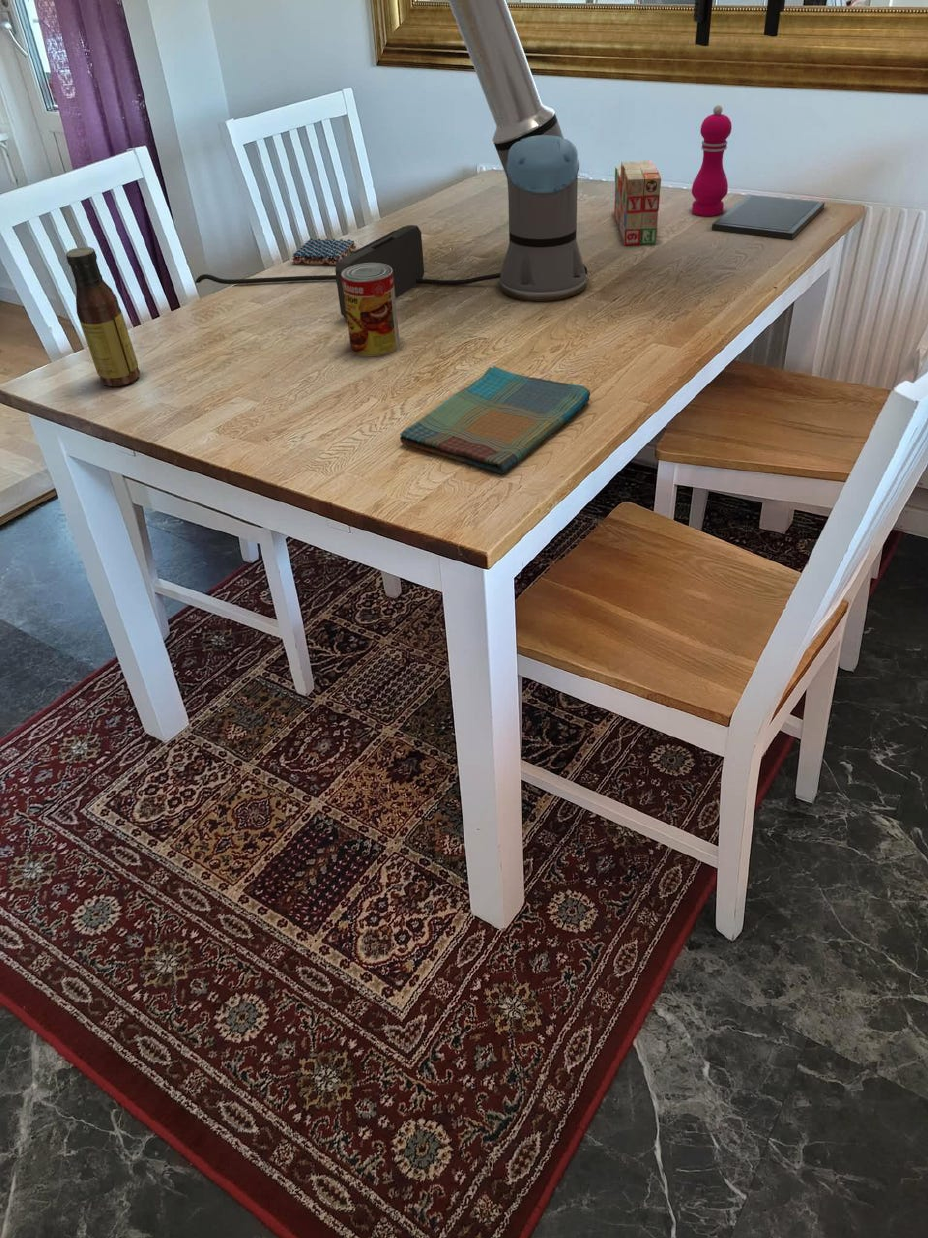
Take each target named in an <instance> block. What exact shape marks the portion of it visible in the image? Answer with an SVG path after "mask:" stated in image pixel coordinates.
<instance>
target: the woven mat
mask: <svg viewBox="0 0 928 1238" xmlns="http://www.w3.org/2000/svg"><path fill="white" fill-rule="evenodd" d="M356 248H357V245H356V244H355V241H354V240H351V239H350V238H349V239H347V240H343V238H341V239H339V240H336V238H333V239H332V240H330V239H328V238H325V239H321V238H317V239H314V238H309V240H306V241H305V242H304V243H302V245H301V246H300V247H298V248H297V250H294V253H292V257H291V258H292V264H293V265H299V264H302V263H303V264H306V265H311V266H312V265H313V266H315V265H316V266H321V265H323V264H328V265H330V266H335V267H336V265H337V262H339V261H340V260H341V259H343V258H344V257H346V256H348V255H350V254H352V252H354V251H356Z"/></svg>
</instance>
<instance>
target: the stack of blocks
mask: <svg viewBox="0 0 928 1238" xmlns="http://www.w3.org/2000/svg"><path fill="white" fill-rule="evenodd" d="M661 187H662V177H661V174H660V171H659V170H658V167H657V166H656V164H655V163H654V161H653V160H636V161H621V163H620V165H617V166H615V168H614V205H613V206H614V209H613V210H614V211H613V212H614V215H615V220H616V222H617V223H616V224H617V226H618V228H619V231H620V234H621V238H622V242H623V245H624V246H639V245H656V243H657V237H658V218H659V210H660V200H661V189H662V188H661Z"/></svg>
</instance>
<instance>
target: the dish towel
mask: <svg viewBox="0 0 928 1238" xmlns="http://www.w3.org/2000/svg"><path fill="white" fill-rule="evenodd" d="M590 396H591V391H590V390H589V388H587V387H586V386H584V385H582V384H573V383H565V382H559V381H552V380H547V379H543V378H537V377H529V376H524V375H522V374H516V373H513V372H510V371H508V370H504V369H503V368H499V367H497V366H495V365H493V366H492V367H491V366H489V367H488V368H487V370H486V371H485V372H484V374H483V375H482V376H481V377H480V378H478V379H476V380H475V381H474V382H473V383H471V384H470V385H467V386H466V387H464V388H463V389H461V390H460V391H458V392H457V393H455V394H453V395H452V396H451V397H450V398H448V399H446V400H445V401H443V403H441V404H440V405H439V406H437V407H436V408H435V409H433V410H432V411H430V412H429V413H427V414H426V415H425V416H423V417H422V418H420V419H419V420H417V421H415V423H413V424H411V425H409V426H408V427H406V428H405V429H404V430H403V431H402V432H400V437H399V441H400V443H402V444H404V445H406V446H411V447H414V448H418V449H420V450H423V451H425V452H426V451H427V452H430V453H434V454H437V455H440V456H443V457H445V458H449V459H453V460H455V461H459V462H462V463H466V464H467V465H471V466H474V467H478V468H481V469H485V471H486V470H487V471H491V472H495V473H498V474H505V473H506V472H507V471H509V470H510V469H511V468H513V467H514V466H515V465H516V464H518V463H519V462H520V461H521V460H522V459H524V458H526V456H527V455H528V454H529V453H531V452H532V451H533V450H534V449H535V448H536V447H537V446H539V445H540V444H541V443H542V442H544V440H545V439H548V437H549V436H551V434H553V433H554V432H556V431H557V430H558V429H559V428H560V427H562V426H564V424H566V422H568V421H569V420H571V418H572V417H573V416H575V415H576V414H577V413H578V412H579V411H580V410H581V409H582V408H583V407H584V406H585V404H587V403H589V401H590V399H591V398H590Z"/></svg>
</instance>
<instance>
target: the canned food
mask: <svg viewBox="0 0 928 1238" xmlns="http://www.w3.org/2000/svg"><path fill="white" fill-rule="evenodd" d="M341 276H342V284H343V291H344V299H345V307H346V315H347V319H346V322H347V330H348V338H349V345H350V351H351V352H353V353H354V354H355V355H358V356H363V357H380V356H381V357H382V356H386V355H389V354H391V353H394V352H395V351H397V350H398V349H399V348H400V345H401V343H400V333H399V321H398V312H397V302H396V297H395V290H394V279H393V270H392V268H391V267H390V266H388V265H386V264H381V263H364V264H358V265H353V266H350V267H348V268H346V269H345V270H343V271H342V273H341Z"/></svg>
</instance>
